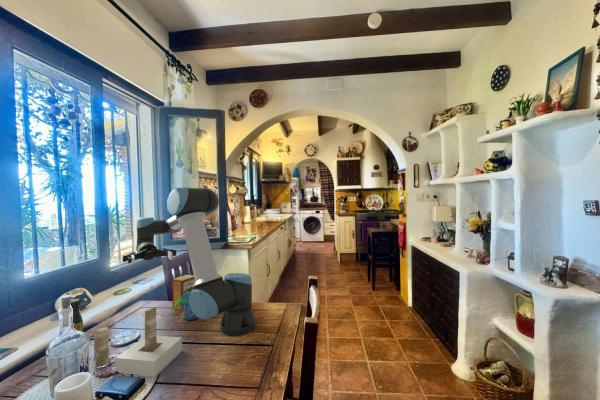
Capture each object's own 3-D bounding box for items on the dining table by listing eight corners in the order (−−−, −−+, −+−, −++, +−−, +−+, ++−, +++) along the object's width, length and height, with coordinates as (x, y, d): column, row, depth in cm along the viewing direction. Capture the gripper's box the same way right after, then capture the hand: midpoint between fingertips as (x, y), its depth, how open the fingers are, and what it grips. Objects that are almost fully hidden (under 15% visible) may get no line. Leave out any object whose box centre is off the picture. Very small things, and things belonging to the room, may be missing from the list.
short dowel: (109, 354, 91) (109, 332, 91) (100, 360, 88) (100, 337, 88) (100, 353, 92) (100, 331, 92) (91, 359, 88) (91, 336, 88)
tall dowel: (158, 358, 88) (158, 307, 89) (151, 365, 85) (151, 311, 85) (149, 357, 89) (149, 307, 89) (142, 364, 85) (142, 311, 86)
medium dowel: (111, 362, 87) (111, 327, 87) (102, 369, 83) (102, 332, 83) (102, 361, 87) (102, 326, 87) (92, 368, 84) (92, 332, 84)
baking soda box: (188, 303, 137) (188, 273, 137) (196, 305, 134) (196, 275, 135) (172, 309, 129) (172, 278, 129) (181, 312, 126) (181, 280, 126)
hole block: (181, 351, 93) (181, 337, 93) (154, 377, 79) (154, 361, 79) (147, 348, 95) (147, 334, 95) (115, 373, 81) (115, 357, 81)
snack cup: (175, 326, 112) (175, 303, 112) (172, 317, 120) (172, 296, 120) (211, 317, 120) (211, 295, 120) (206, 309, 129) (206, 289, 129)
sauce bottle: (68, 362, 87) (68, 305, 87) (53, 360, 88) (53, 303, 88) (87, 351, 93) (87, 298, 93) (74, 349, 94) (74, 296, 94)
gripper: (176, 255, 128) (185, 263, 111) (115, 262, 113) (115, 273, 96) (176, 240, 128) (185, 246, 111) (115, 246, 113) (115, 253, 96)
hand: (153, 258), depth 103 cm, fingers open, 13 cm apart
